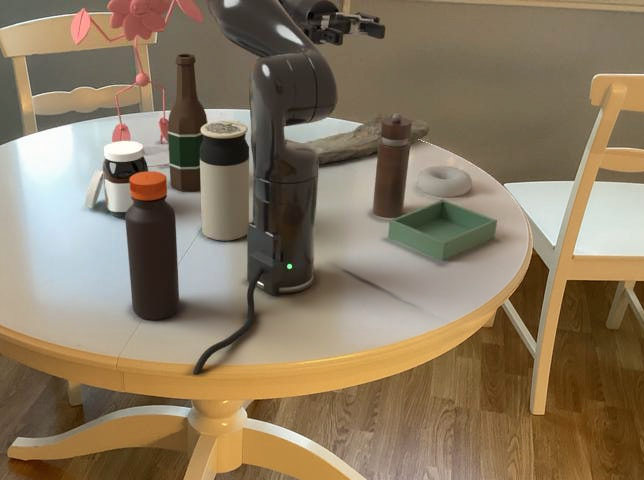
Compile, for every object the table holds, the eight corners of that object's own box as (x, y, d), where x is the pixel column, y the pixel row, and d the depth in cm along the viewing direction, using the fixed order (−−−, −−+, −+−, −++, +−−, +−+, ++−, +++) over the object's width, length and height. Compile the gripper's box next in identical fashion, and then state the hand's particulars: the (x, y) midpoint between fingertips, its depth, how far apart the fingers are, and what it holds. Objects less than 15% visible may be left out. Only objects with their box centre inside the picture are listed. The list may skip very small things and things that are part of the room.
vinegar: (171, 323, 119) (164, 189, 108) (126, 317, 120) (114, 185, 109) (185, 300, 124) (179, 170, 113) (141, 295, 126) (132, 166, 115)
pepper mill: (388, 223, 145) (399, 119, 135) (365, 214, 148) (374, 112, 138) (408, 215, 148) (420, 113, 138) (386, 206, 151) (396, 106, 141)
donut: (415, 200, 153) (472, 202, 152) (417, 182, 152) (474, 184, 150) (415, 179, 162) (469, 181, 160) (416, 162, 160) (471, 164, 158)
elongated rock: (275, 164, 173) (303, 182, 166) (275, 140, 170) (304, 157, 163) (407, 124, 186) (439, 139, 179) (410, 101, 183) (442, 115, 176)
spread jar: (156, 217, 149) (152, 154, 143) (93, 227, 146) (86, 162, 140) (139, 193, 159) (135, 132, 152) (80, 201, 156) (73, 140, 149)
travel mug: (226, 246, 139) (225, 139, 129) (192, 232, 144) (188, 128, 134) (258, 230, 144) (259, 126, 134) (224, 218, 148) (222, 116, 138)
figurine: (80, 153, 177) (60, -28, 158) (195, 136, 185) (189, -39, 166) (99, 178, 165) (80, -15, 146) (221, 158, 173) (218, -27, 154)
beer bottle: (216, 188, 160) (214, 57, 146) (177, 195, 157) (171, 63, 144) (201, 174, 166) (197, 48, 153) (164, 180, 164) (157, 52, 150)
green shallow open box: (441, 264, 132) (444, 243, 130) (387, 240, 140) (389, 220, 138) (493, 240, 139) (497, 220, 137) (439, 218, 146) (442, 199, 144)
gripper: (275, 0, 148) (328, 17, 136) (342, -9, 153) (399, 6, 141) (274, 45, 152) (325, 64, 140) (340, 34, 158) (394, 53, 145)
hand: (362, 35), depth 141 cm, fingers open, 8 cm apart
